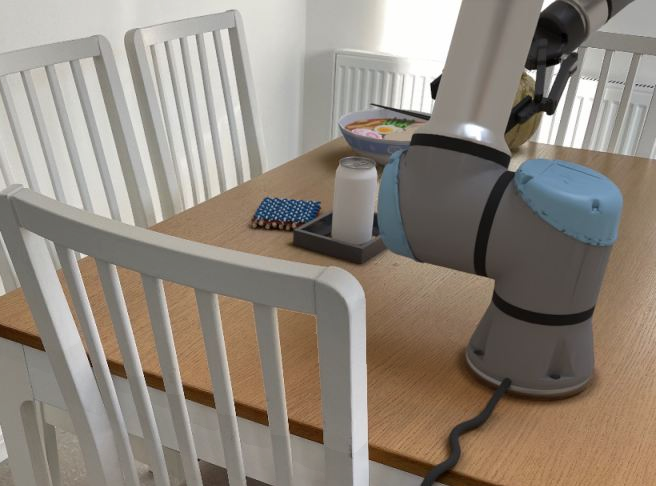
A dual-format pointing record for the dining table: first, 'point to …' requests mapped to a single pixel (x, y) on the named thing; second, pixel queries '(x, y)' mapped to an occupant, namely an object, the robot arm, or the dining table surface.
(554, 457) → the dining table surface
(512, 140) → the cantaloupe
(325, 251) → the tray
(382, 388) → the dining table surface
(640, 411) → the dining table surface
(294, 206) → the woven mat
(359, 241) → the can
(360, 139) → the ramen bowl
